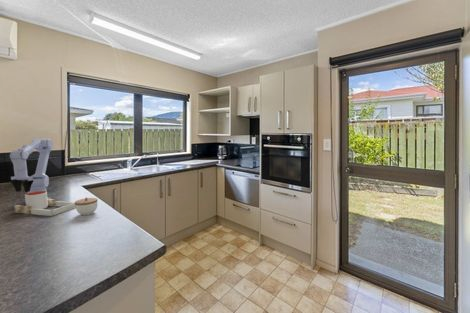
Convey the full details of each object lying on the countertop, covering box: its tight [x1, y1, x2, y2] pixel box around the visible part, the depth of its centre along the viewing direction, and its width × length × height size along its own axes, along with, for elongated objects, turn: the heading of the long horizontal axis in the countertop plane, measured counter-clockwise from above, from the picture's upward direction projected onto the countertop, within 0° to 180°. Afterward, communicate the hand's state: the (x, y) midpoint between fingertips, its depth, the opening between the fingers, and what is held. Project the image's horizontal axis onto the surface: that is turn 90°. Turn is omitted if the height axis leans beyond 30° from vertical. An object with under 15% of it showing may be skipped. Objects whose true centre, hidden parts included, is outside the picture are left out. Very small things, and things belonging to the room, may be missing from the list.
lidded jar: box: [74, 196, 99, 216], centre depth 125 cm, size 11×11×9 cm
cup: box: [24, 190, 49, 210], centre depth 134 cm, size 10×10×10 cm
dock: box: [30, 200, 76, 217], centre depth 131 cm, size 15×15×3 cm
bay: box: [13, 198, 57, 215], centre depth 134 cm, size 12×15×4 cm
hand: (23, 191), depth 136 cm, fingers open, 7 cm apart
